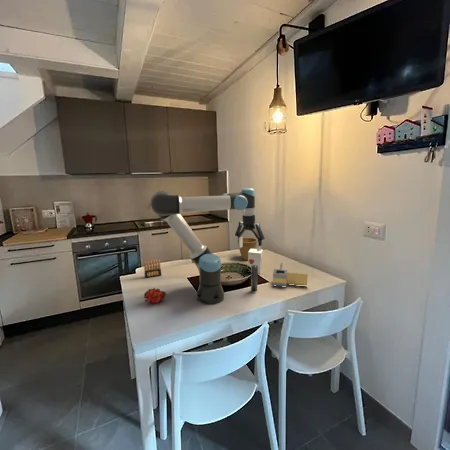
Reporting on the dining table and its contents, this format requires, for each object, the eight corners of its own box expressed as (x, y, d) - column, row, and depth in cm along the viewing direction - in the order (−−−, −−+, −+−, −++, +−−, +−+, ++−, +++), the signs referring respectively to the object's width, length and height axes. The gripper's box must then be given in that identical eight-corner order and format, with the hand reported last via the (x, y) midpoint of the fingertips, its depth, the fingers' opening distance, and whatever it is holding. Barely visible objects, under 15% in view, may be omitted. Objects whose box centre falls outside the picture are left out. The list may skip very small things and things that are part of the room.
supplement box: (247, 272, 184) (247, 251, 181) (250, 268, 192) (250, 248, 189) (260, 274, 181) (260, 253, 178) (262, 269, 190) (263, 249, 187)
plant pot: (247, 255, 222) (247, 236, 219) (260, 259, 211) (260, 239, 208) (233, 258, 213) (233, 239, 210) (246, 263, 202) (247, 243, 198)
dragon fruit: (142, 306, 141) (165, 305, 146) (144, 303, 134) (168, 302, 139) (142, 290, 145) (165, 289, 149) (144, 286, 138) (167, 286, 142)
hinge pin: (256, 292, 154) (257, 267, 151) (250, 291, 155) (251, 267, 152) (257, 289, 158) (258, 265, 155) (251, 288, 158) (252, 264, 156)
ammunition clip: (160, 274, 180) (160, 257, 178) (161, 275, 178) (160, 258, 176) (144, 277, 176) (143, 260, 173) (145, 278, 174) (143, 261, 172)
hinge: (306, 289, 157) (307, 276, 156) (272, 286, 162) (273, 273, 161) (305, 276, 176) (306, 265, 175) (275, 274, 181) (275, 262, 180)
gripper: (270, 215, 153) (270, 250, 157) (236, 212, 169) (237, 244, 173) (262, 217, 147) (263, 254, 152) (228, 214, 164) (230, 247, 168)
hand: (249, 249), depth 163 cm, fingers open, 13 cm apart
